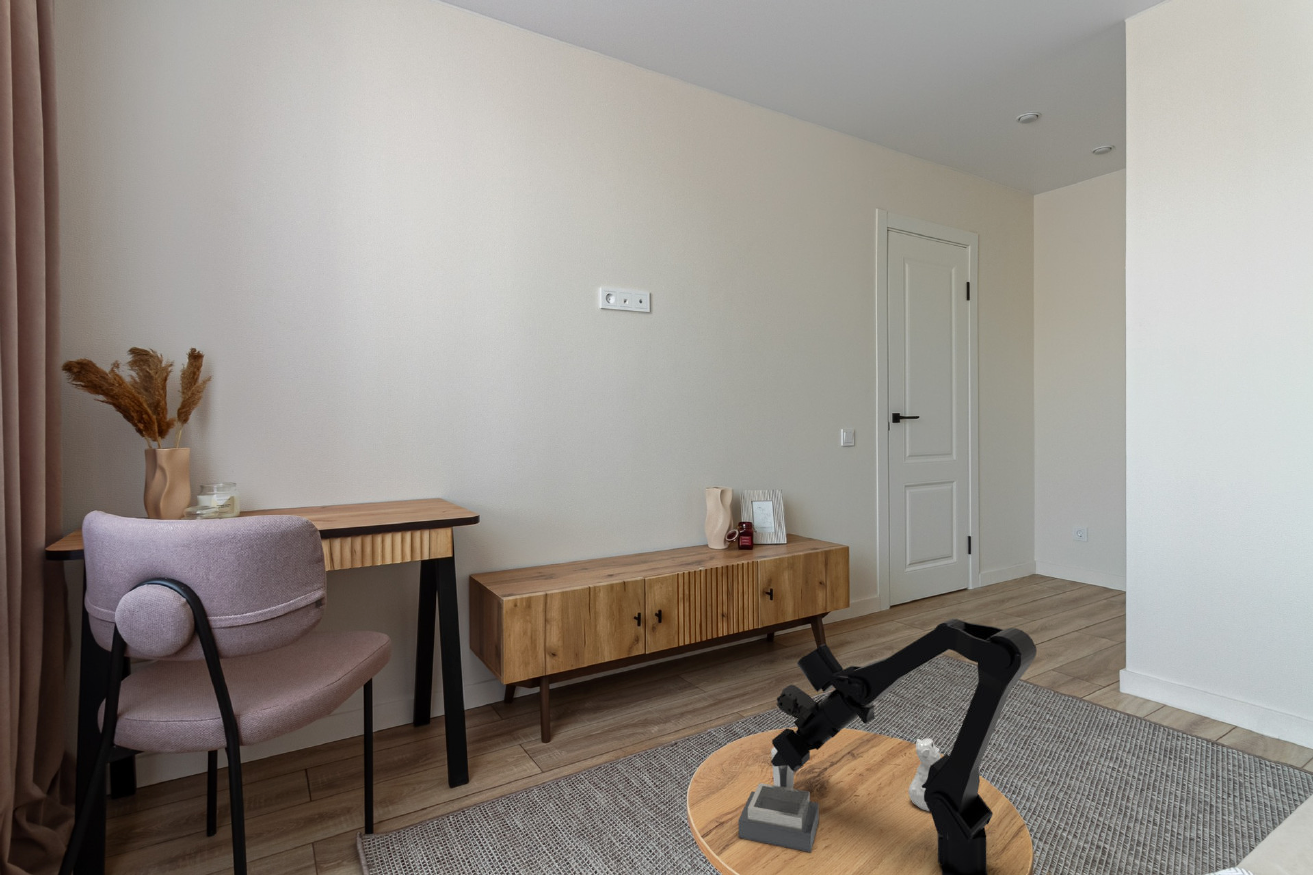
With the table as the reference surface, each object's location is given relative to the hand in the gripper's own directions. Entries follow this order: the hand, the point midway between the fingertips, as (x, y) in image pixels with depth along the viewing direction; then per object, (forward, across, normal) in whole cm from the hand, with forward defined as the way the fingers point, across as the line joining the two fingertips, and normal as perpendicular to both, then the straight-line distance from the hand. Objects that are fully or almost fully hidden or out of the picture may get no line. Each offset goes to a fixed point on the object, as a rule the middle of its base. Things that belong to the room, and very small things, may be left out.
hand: (778, 758), depth 130 cm
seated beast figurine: (-12, -12, +23) cm, 29 cm away
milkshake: (+4, 0, +6) cm, 7 cm away
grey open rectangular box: (+1, +10, +8) cm, 13 cm away
